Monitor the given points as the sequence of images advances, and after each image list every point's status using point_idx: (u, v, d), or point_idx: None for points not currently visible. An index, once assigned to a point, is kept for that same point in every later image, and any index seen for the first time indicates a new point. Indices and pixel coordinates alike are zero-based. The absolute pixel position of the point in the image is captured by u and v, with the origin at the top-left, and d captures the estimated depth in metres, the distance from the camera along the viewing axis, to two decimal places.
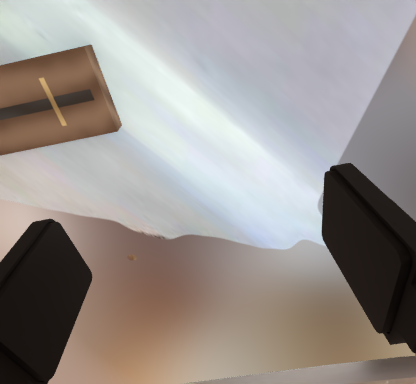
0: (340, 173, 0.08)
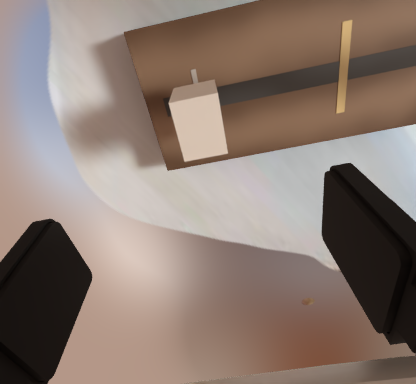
0: (340, 173, 0.08)
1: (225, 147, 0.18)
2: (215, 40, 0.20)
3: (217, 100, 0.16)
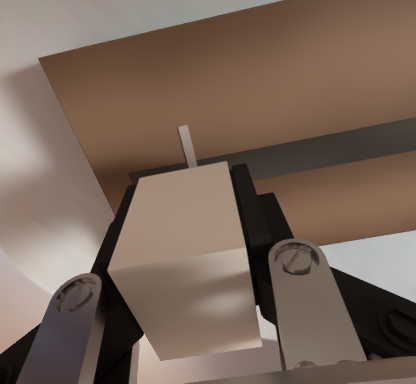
0: (234, 171, 0.09)
1: (257, 338, 0.07)
2: (226, 72, 0.10)
3: (243, 261, 0.06)
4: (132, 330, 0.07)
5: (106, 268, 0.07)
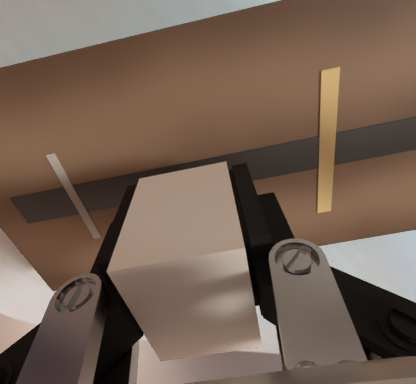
0: (234, 171, 0.09)
1: (257, 338, 0.07)
2: (78, 105, 0.11)
3: (243, 262, 0.06)
4: (132, 330, 0.07)
5: (105, 268, 0.07)
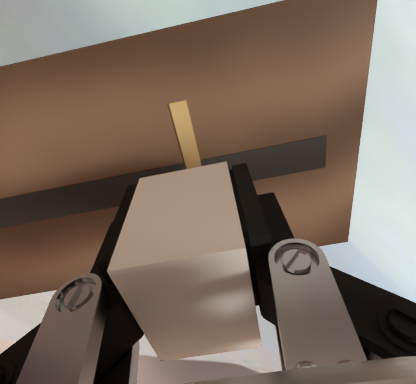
0: (234, 172, 0.09)
1: (256, 338, 0.07)
2: None
3: (243, 262, 0.06)
4: (132, 330, 0.07)
5: (106, 268, 0.07)
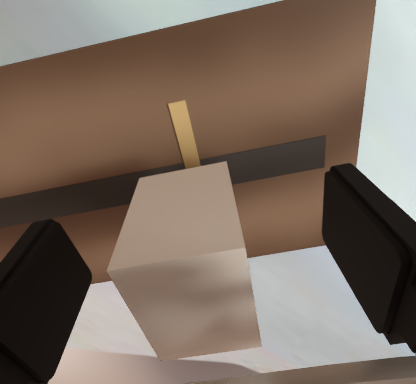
0: (340, 173, 0.08)
1: (256, 338, 0.07)
2: None
3: (243, 262, 0.06)
4: None
5: None
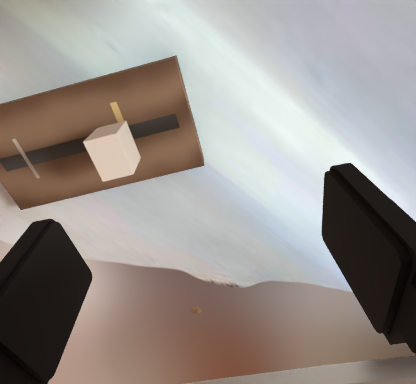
0: (340, 173, 0.08)
1: (130, 170, 0.24)
2: (22, 119, 0.28)
3: (117, 138, 0.23)
4: None
5: None
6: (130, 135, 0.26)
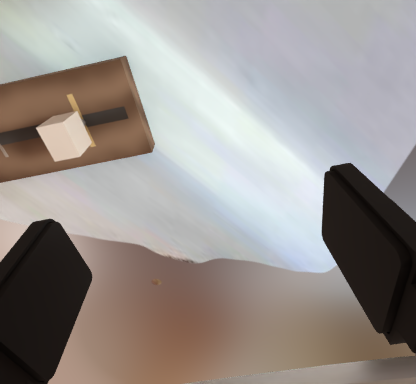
0: (340, 173, 0.08)
1: (77, 153, 0.30)
2: None
3: (64, 126, 0.28)
4: None
5: None
6: (81, 123, 0.31)
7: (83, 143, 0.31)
